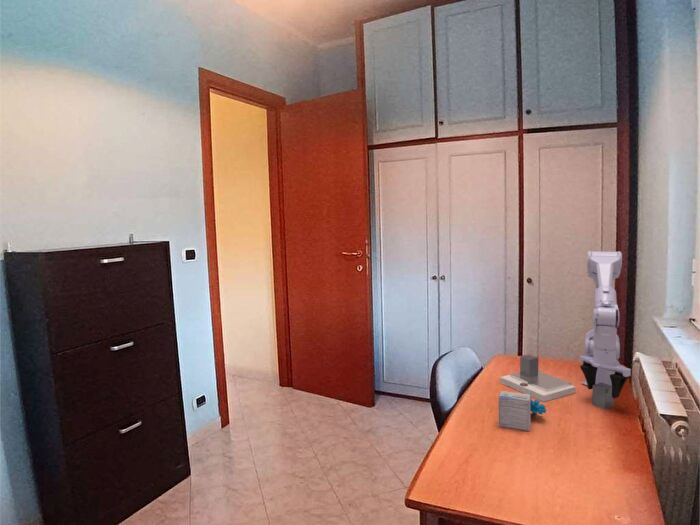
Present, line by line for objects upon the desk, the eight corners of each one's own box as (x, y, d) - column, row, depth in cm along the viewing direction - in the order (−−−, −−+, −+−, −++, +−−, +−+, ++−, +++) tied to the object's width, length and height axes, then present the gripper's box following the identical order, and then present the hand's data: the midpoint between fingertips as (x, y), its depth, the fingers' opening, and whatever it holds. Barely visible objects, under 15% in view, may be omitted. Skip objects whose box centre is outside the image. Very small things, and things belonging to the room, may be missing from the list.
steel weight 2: (600, 401, 137) (601, 382, 137) (613, 406, 134) (614, 386, 133) (592, 404, 136) (592, 384, 135) (604, 409, 132) (605, 389, 131)
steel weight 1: (538, 375, 153) (538, 357, 152) (529, 377, 151) (529, 359, 150) (528, 371, 156) (528, 354, 156) (520, 373, 154) (520, 356, 154)
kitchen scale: (530, 375, 160) (530, 367, 160) (575, 392, 144) (575, 384, 144) (500, 382, 154) (500, 374, 154) (543, 402, 138) (543, 393, 138)
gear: (553, 412, 127) (537, 394, 123) (547, 432, 125) (530, 414, 120) (517, 405, 136) (501, 388, 131) (511, 424, 133) (494, 407, 129)
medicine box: (530, 424, 124) (531, 394, 123) (529, 432, 120) (530, 400, 119) (500, 420, 127) (500, 390, 126) (498, 427, 123) (498, 396, 122)
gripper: (573, 343, 138) (572, 387, 139) (620, 356, 125) (618, 404, 126) (589, 340, 141) (587, 382, 142) (636, 352, 128) (634, 399, 129)
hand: (603, 392), depth 134 cm, fingers open, 7 cm apart
